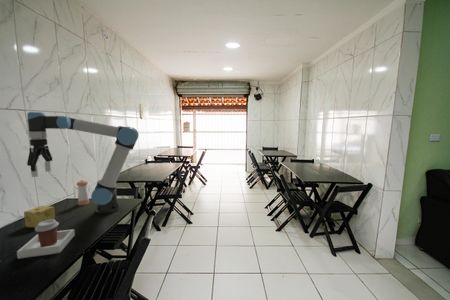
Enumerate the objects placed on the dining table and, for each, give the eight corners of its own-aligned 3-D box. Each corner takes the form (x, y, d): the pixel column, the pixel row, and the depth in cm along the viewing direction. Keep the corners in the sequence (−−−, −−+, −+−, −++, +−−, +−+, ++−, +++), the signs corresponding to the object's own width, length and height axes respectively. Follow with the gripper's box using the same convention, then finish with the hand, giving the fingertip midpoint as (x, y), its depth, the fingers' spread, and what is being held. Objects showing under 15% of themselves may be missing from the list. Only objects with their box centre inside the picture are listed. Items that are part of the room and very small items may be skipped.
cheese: (38, 229, 120) (36, 213, 119) (24, 227, 122) (22, 211, 121) (55, 221, 130) (54, 206, 129) (42, 219, 133) (41, 205, 131)
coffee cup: (44, 251, 98) (42, 228, 97) (32, 247, 101) (30, 225, 99) (64, 241, 107) (62, 220, 105) (53, 238, 110) (50, 217, 108)
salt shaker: (84, 201, 164) (82, 178, 162) (91, 202, 162) (89, 179, 160) (75, 204, 157) (73, 180, 155) (82, 205, 155) (80, 181, 153)
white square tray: (74, 235, 114) (74, 229, 113) (59, 252, 98) (59, 246, 98) (39, 239, 109) (38, 233, 109) (17, 258, 93) (16, 251, 93)
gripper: (43, 137, 129) (46, 169, 132) (15, 140, 105) (19, 179, 108) (57, 137, 131) (60, 169, 134) (32, 140, 108) (36, 178, 110)
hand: (42, 173), depth 121 cm, fingers open, 13 cm apart
